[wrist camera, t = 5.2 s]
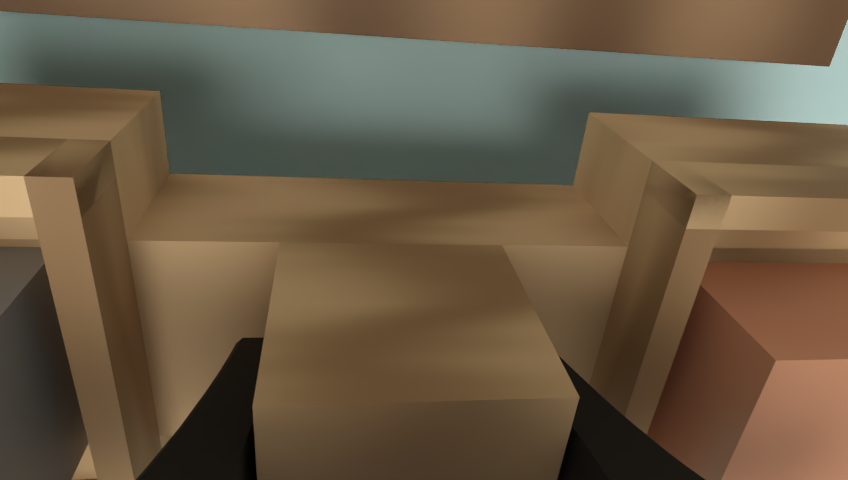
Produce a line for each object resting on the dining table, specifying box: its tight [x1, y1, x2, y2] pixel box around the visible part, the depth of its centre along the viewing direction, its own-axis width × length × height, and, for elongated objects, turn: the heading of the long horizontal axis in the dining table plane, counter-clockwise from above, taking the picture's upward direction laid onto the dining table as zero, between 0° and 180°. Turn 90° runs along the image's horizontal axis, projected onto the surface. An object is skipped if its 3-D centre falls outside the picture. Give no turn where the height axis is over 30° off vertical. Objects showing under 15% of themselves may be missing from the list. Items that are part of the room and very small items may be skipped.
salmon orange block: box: [647, 262, 848, 480], centre depth 12 cm, size 4×4×3 cm
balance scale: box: [0, 83, 848, 480], centre depth 11 cm, size 22×8×7 cm, turn 85°
